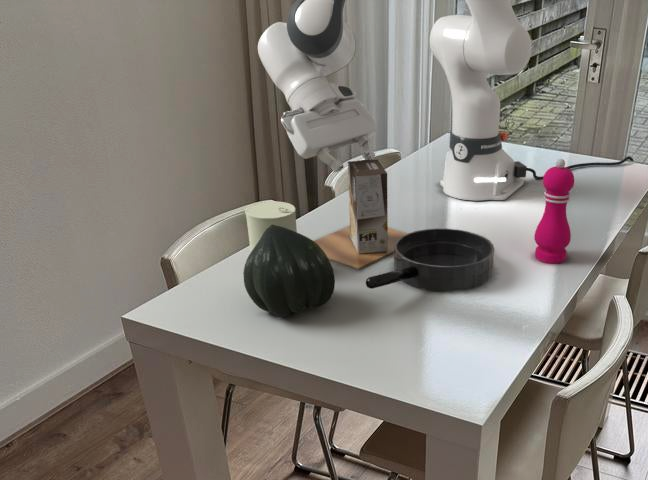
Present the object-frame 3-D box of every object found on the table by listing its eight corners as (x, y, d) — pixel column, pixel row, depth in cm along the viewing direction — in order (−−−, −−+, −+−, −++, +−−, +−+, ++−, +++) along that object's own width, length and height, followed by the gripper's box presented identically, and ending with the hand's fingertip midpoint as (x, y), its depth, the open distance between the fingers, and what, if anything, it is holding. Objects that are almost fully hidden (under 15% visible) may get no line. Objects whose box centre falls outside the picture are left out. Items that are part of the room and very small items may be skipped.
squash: (345, 295, 126) (325, 209, 127) (253, 311, 121) (233, 222, 123) (335, 318, 139) (317, 240, 141) (252, 333, 135) (234, 252, 137)
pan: (432, 244, 160) (433, 221, 157) (511, 268, 151) (513, 244, 148) (374, 273, 147) (373, 249, 144) (456, 301, 138) (457, 276, 135)
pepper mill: (547, 248, 160) (557, 151, 149) (575, 258, 156) (588, 159, 145) (525, 256, 156) (533, 158, 145) (552, 267, 152) (564, 166, 141)
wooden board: (362, 222, 169) (362, 220, 169) (420, 239, 162) (420, 237, 162) (298, 249, 155) (298, 247, 155) (358, 270, 148) (358, 268, 148)
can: (290, 279, 143) (284, 217, 137) (243, 274, 145) (236, 212, 138) (307, 260, 151) (303, 201, 144) (263, 255, 152) (256, 196, 146)
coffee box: (389, 251, 155) (388, 173, 146) (357, 254, 153) (355, 175, 144) (379, 234, 162) (378, 158, 153) (348, 236, 160) (346, 160, 151)
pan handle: (412, 273, 142) (412, 253, 140) (421, 276, 141) (421, 255, 139) (363, 299, 132) (363, 277, 130) (372, 302, 131) (372, 280, 129)
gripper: (284, 103, 140) (327, 167, 141) (358, 86, 154) (396, 144, 155) (269, 124, 145) (310, 186, 145) (342, 105, 159) (379, 162, 160)
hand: (355, 164), depth 150 cm, fingers open, 8 cm apart
